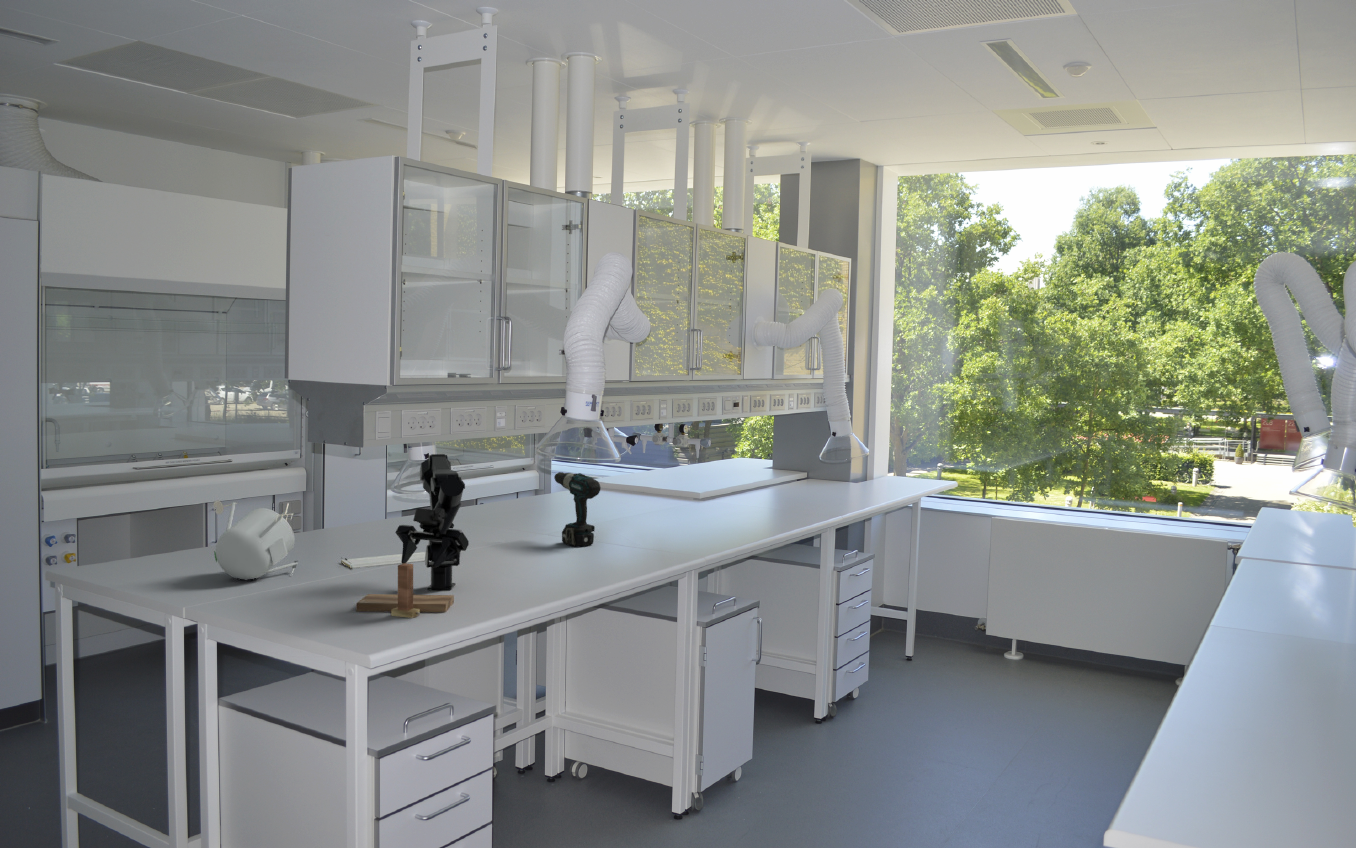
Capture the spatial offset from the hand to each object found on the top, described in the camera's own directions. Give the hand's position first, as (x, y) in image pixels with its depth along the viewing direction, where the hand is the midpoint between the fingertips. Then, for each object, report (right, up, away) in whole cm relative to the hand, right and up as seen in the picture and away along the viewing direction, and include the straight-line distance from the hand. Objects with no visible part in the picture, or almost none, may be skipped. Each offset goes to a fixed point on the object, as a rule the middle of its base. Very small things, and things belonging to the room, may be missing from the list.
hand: (418, 565), depth 238 cm
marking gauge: (-2, -12, -5) cm, 13 cm away
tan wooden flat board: (-4, -11, +3) cm, 12 cm away
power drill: (+28, -7, +96) cm, 100 cm away
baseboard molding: (-23, -8, +60) cm, 65 cm away
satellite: (-55, -9, +34) cm, 65 cm away
